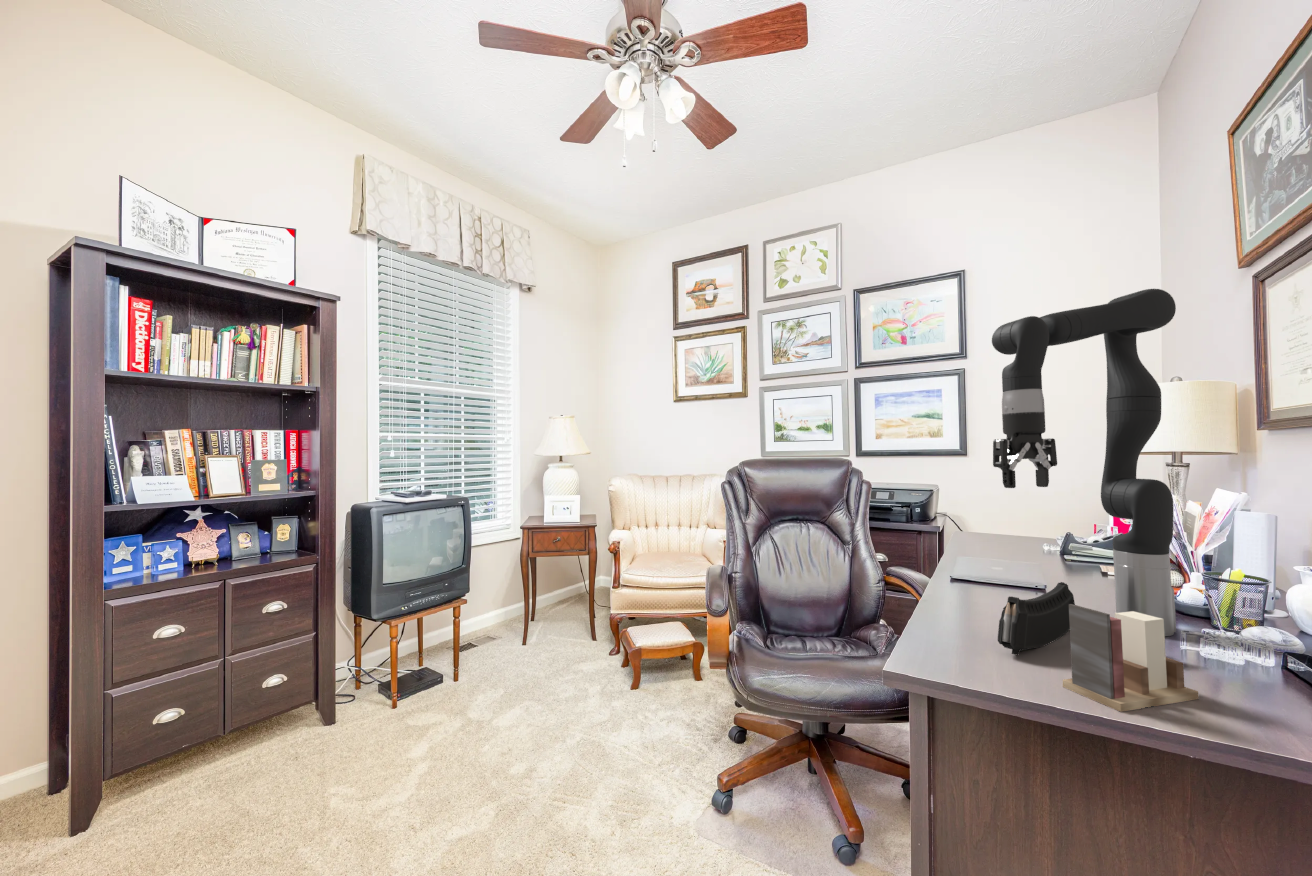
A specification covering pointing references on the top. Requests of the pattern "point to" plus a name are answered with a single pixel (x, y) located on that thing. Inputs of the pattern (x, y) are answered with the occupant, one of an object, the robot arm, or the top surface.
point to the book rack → (1115, 666)
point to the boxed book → (1145, 645)
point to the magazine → (1035, 619)
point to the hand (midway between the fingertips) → (1026, 487)
